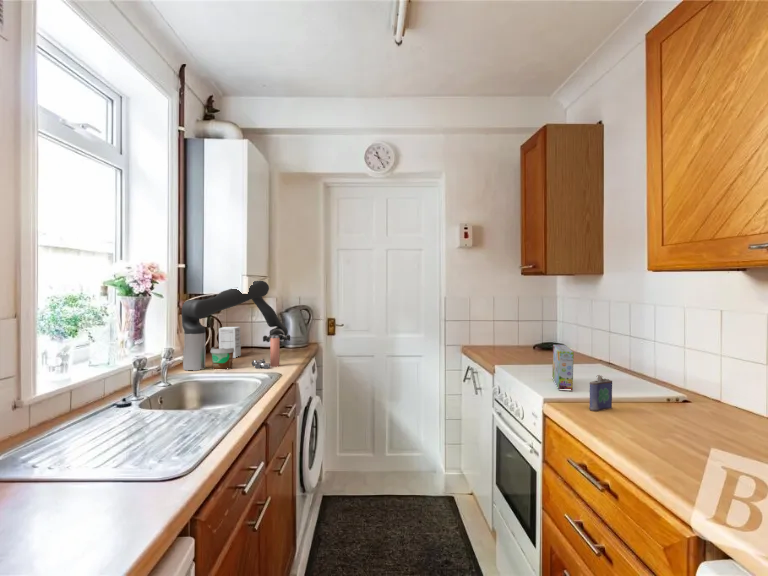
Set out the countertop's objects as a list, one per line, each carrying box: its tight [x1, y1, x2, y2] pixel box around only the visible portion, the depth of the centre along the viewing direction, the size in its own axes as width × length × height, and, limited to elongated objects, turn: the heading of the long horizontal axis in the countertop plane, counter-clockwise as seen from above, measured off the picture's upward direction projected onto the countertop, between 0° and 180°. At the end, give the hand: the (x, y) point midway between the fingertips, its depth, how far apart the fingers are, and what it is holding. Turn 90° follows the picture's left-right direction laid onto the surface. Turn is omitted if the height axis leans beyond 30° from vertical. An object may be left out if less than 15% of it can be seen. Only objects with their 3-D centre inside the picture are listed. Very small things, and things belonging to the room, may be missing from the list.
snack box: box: [552, 344, 575, 390], centre depth 164 cm, size 21×6×15 cm, turn 164°
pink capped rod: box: [269, 336, 281, 368], centre depth 205 cm, size 4×4×15 cm
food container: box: [209, 346, 234, 370], centre depth 198 cm, size 12×6×10 cm, turn 73°
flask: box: [589, 374, 613, 412], centre depth 131 cm, size 9×3×11 cm, turn 115°
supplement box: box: [218, 326, 242, 359], centre depth 233 cm, size 10×9×17 cm
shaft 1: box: [251, 358, 266, 367], centre depth 207 cm, size 7×3×3 cm, turn 156°
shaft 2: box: [254, 362, 271, 370], centre depth 200 cm, size 7×3×3 cm, turn 81°
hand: (276, 339), depth 216 cm, fingers open, 8 cm apart
